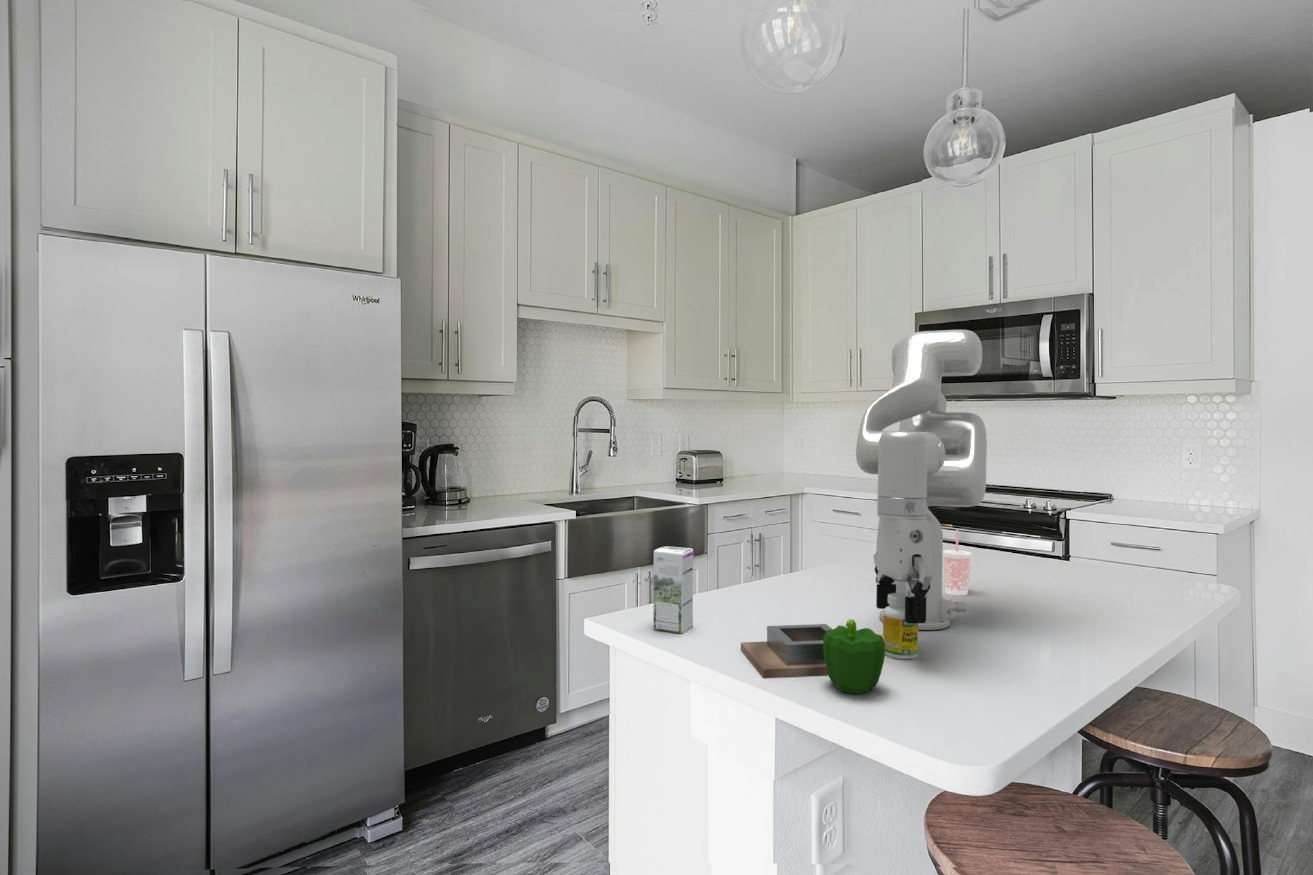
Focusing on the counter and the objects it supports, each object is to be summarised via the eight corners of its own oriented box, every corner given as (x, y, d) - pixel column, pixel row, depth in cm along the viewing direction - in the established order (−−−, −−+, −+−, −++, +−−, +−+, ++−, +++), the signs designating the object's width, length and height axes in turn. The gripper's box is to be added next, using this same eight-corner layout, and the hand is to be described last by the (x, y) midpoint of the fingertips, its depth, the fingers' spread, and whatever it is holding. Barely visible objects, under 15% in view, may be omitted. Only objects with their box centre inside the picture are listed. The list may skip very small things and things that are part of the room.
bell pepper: (844, 673, 106) (845, 606, 106) (894, 688, 100) (895, 617, 100) (809, 686, 101) (810, 615, 100) (860, 703, 94) (861, 628, 94)
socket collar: (825, 642, 117) (825, 623, 117) (850, 662, 107) (850, 642, 107) (767, 644, 116) (767, 626, 116) (786, 664, 106) (786, 644, 106)
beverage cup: (935, 590, 160) (936, 528, 160) (959, 588, 162) (960, 527, 161) (953, 596, 154) (954, 532, 154) (977, 595, 156) (978, 531, 156)
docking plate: (845, 645, 119) (845, 638, 119) (880, 672, 106) (880, 664, 106) (740, 649, 117) (740, 642, 117) (763, 677, 104) (763, 669, 104)
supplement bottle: (897, 647, 119) (897, 590, 118) (925, 656, 114) (925, 596, 114) (875, 653, 116) (876, 594, 115) (903, 662, 111) (904, 601, 111)
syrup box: (693, 626, 130) (694, 547, 130) (681, 634, 125) (682, 552, 125) (665, 622, 133) (666, 544, 133) (652, 630, 127) (652, 549, 127)
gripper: (953, 513, 106) (951, 628, 106) (898, 504, 123) (896, 603, 123) (906, 513, 105) (904, 629, 105) (857, 503, 122) (855, 603, 122)
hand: (900, 615), depth 114 cm, fingers open, 9 cm apart
